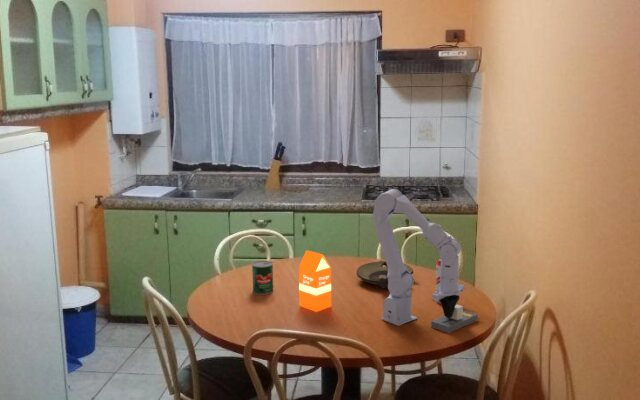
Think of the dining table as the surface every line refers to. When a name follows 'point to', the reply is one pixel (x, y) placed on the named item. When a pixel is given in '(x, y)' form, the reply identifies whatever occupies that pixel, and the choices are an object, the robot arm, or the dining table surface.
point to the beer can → (438, 275)
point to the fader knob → (457, 312)
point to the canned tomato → (262, 277)
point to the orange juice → (314, 282)
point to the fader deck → (454, 322)
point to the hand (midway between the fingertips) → (448, 316)
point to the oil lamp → (376, 273)
